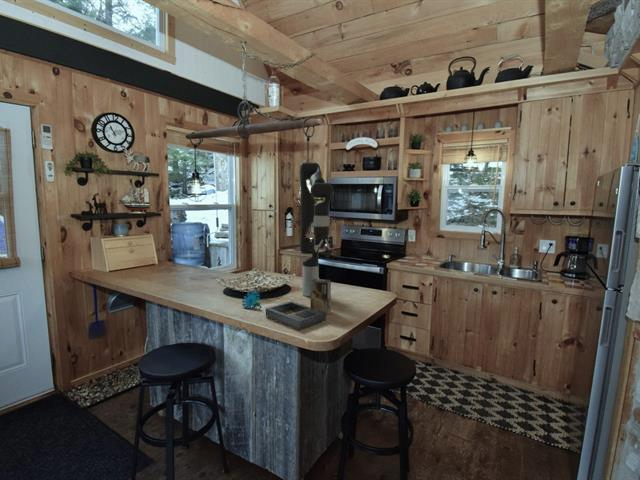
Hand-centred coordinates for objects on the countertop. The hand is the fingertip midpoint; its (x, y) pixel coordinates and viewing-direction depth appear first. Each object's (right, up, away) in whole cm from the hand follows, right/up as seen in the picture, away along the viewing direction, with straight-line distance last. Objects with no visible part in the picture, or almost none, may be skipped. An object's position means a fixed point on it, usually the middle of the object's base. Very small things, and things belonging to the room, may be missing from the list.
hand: (321, 258), depth 166 cm
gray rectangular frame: (-12, -28, -6) cm, 31 cm away
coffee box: (0, -27, +3) cm, 27 cm away
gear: (-35, -26, +10) cm, 45 cm away
